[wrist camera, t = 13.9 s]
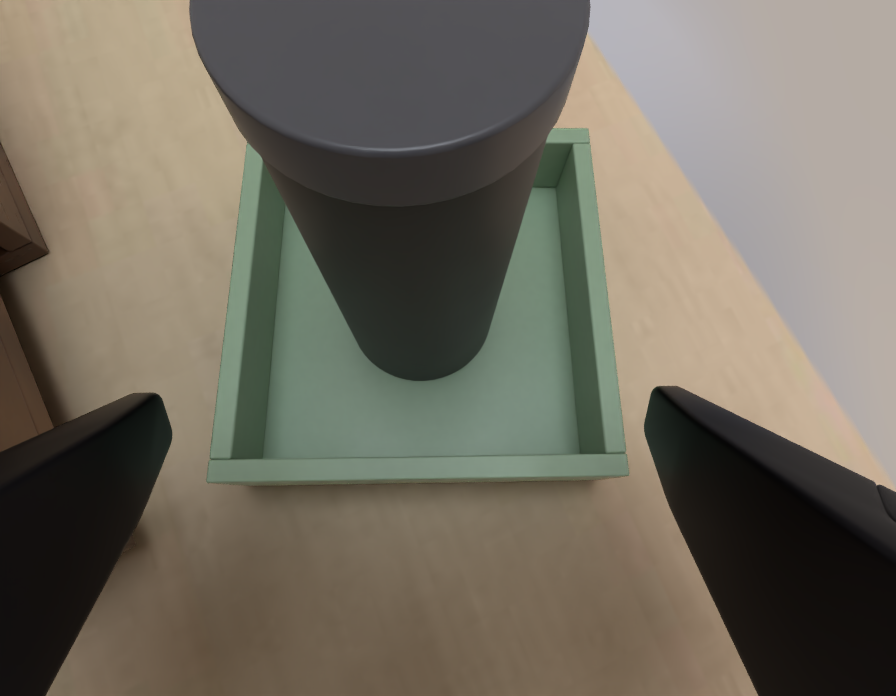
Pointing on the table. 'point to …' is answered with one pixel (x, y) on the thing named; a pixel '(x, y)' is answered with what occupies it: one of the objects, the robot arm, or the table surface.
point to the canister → (400, 148)
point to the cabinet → (16, 223)
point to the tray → (434, 401)
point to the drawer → (20, 394)
